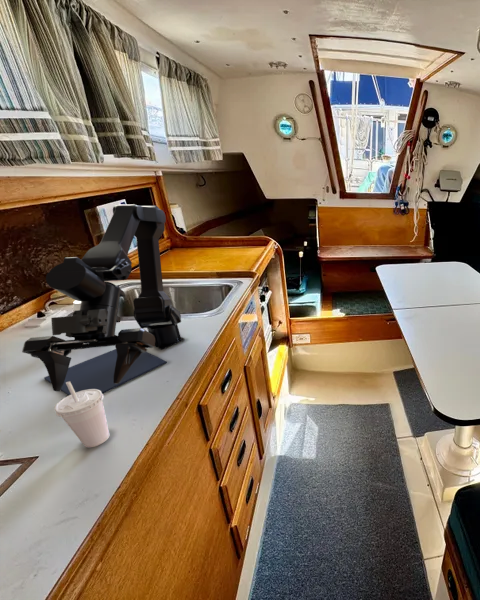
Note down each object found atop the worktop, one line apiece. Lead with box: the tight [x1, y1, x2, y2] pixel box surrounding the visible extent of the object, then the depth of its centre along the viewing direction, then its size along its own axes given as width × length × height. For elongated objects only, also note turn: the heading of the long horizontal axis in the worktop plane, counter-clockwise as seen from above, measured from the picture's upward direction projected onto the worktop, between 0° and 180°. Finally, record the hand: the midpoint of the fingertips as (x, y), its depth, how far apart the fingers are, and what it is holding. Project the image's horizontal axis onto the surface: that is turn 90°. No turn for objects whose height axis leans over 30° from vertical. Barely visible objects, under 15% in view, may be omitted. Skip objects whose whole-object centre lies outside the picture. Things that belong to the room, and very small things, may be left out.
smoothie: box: [53, 381, 111, 448], centre depth 59 cm, size 6×6×14 cm
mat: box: [43, 348, 168, 396], centre depth 81 cm, size 18×18×1 cm
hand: (87, 387), depth 60 cm, fingers open, 9 cm apart
